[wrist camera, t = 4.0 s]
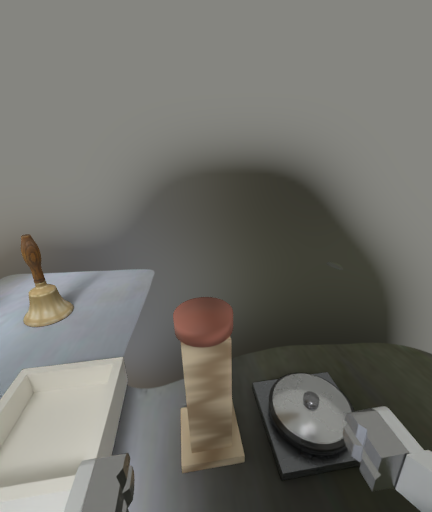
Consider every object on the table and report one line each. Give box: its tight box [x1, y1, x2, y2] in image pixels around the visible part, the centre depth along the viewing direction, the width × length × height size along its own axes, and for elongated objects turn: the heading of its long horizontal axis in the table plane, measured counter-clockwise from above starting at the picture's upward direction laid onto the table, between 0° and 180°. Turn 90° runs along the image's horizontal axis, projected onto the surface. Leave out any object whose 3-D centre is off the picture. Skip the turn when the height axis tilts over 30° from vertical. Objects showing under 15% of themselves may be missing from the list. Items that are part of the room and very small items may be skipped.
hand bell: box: [21, 234, 74, 327], centre depth 47 cm, size 8×8×16 cm
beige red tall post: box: [173, 297, 245, 473], centre depth 24 cm, size 6×6×16 cm
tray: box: [0, 357, 128, 512], centre depth 27 cm, size 12×14×4 cm
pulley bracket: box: [252, 372, 359, 480], centre depth 28 cm, size 10×10×3 cm
